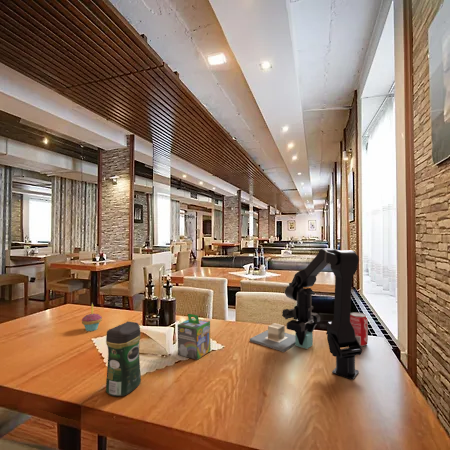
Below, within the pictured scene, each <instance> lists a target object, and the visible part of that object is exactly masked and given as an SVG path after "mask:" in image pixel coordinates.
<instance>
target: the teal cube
mask: <svg viewBox="0 0 450 450" xmlns="http://www.w3.org/2000/svg"><path fill="white" fill-rule="evenodd" d="M313 334H314V332H308V331H307V333H306V336H305V339H304V342H303V345H300V344H299V341H298V338H297V335H296V332H295V333H294V335H295V345H294V346H295V347H299V348H303V349H306V350H308V349H310V348H311V347H312V346H313V344H314V343H313V342H314V340H313V339H314V338H313V337H314V335H313Z"/></svg>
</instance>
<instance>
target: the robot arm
mask: <svg viewBox="0 0 450 450" xmlns="http://www.w3.org/2000/svg"><path fill="white" fill-rule="evenodd" d="M359 261H360V260H359V255H358V254H357V253H356V251H354V250H352V249H351V250H349V249H348V250H338V249H334V248H321V249H319V250H318V253H317V255H316V256H314V258H313V259H312V260H311V262H310V263H309V264H307V266H306V267H305V268H303V269H301V270H299V271H297V272H296V273H295V274H294V275H293V278H292V281H291V282H289V283H288V285H287V287H285V290H284V295H285V297H287V298H288V299H291V300H293V301H295V302H296V305H294V307H293V308H290V309H288V308H286V309H282V313H281V314H282V315H281V316H282V317H283V319H285V320H288V319H291V320H290V321H289V320H288V322H287V323H286V326H285V328H286V329H287V330H290V331H293V332H295V333H296V335H297V338H298V341H299V344H300V345H303V342H304V339H305V336H306V333H307V331H308V332H312V333H314V330H315V328H316V326H317V325H318V323H319V322H321V315H320V314H319V313H316V312H312V310H314V306H313V305H312V295H315V291H313V289H312V287H313V286H314V285H315V283H316V282H317V276H318V275H319V274H320V273H321V272H322V271H323V270H324V269H325V268H326V267H327V266H328V264H329V265H330V269H331V271H332V273H333V275H334V278H335V280H334V305H333V319H332V320H331V321H328V322H327V323H326V332H325V334H326V338H327V339H326V340H327V345H328V349H329V353H330V354H332V356H333V357H335V368H334V369H333V370H332V371H331V373H332V374H333V375H337V376H340V377H342V378H346V379H349V380H354V379H355V378H356V376H357V375H358V374H359V372H360V371H359V370H357V369H356V356H361V355H362V353H363V348H362V346H360V344H359V343H358V341H357V339H356V337H355V330H354V328H353V326H352V324H351V323H350V315H351V304H352V302H351V301H352V280H353V277H354V275H355V274H356V272H357V271H358V267H359Z"/></svg>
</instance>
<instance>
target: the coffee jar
mask: <svg viewBox="0 0 450 450" xmlns="http://www.w3.org/2000/svg"><path fill="white" fill-rule="evenodd" d="M141 335H142V334H141V327H140V325H139V323H138V322H133V321H126V322H124V323H122V324H121V323H120V324H118V325H116V326H114V327H112V328H109V329H108V330H107V331H106V338H105V339H106V340H105V343H106V344H105V345H106V347H107V353H108V355H107V369H106V382H105V391H106V393H107V394H108V395H110V396H112V397H124V396H127V395H128V394H130V393H132V392H133V391H134V390H135V389H136V388H138V387H139V385H140V384H141V383H142V382H141V381H142V378H141V377H142V376H141V375H142V374H141V363H140V340H141Z"/></svg>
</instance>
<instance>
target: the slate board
mask: <svg viewBox="0 0 450 450" xmlns="http://www.w3.org/2000/svg"><path fill="white" fill-rule="evenodd" d="M249 342H251V343H254V344H257V345H260V346H264V347H267V348H269V349H273V350H276V351H279V352H283V353H285V352H286V351H287V350H290V349H291V348H293V347H294V346H295V334H292V333H287V332H285V338H283V339H281V340H280V341H276V340H273V339H270V338H268V329H267V330H264V331H263V332H260V333H258V334H256V335H254V336H253V337H250V338H249Z"/></svg>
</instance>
